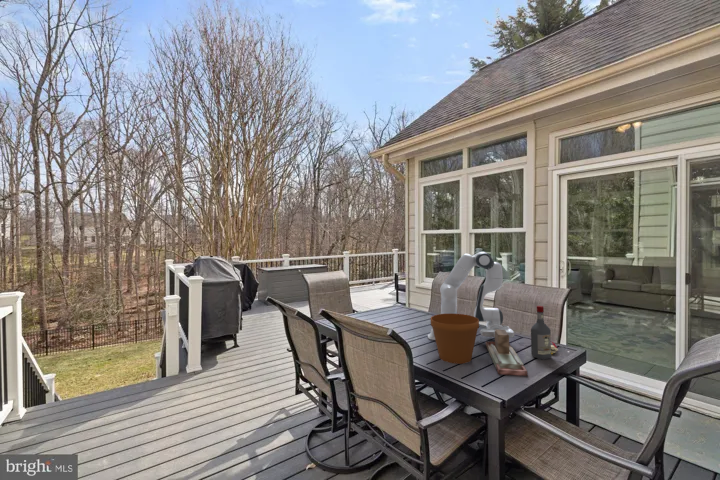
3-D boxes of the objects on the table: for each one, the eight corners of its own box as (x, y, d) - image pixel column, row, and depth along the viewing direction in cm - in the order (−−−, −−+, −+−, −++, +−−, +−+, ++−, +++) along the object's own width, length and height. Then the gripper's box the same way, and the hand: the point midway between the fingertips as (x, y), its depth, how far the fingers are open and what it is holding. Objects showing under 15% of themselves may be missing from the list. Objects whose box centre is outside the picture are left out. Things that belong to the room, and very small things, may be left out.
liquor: (529, 354, 202) (528, 305, 202) (541, 353, 204) (540, 304, 204) (540, 360, 193) (539, 308, 193) (553, 358, 195) (552, 307, 195)
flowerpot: (465, 348, 216) (464, 312, 216) (489, 364, 189) (488, 323, 189) (424, 351, 212) (423, 315, 211) (443, 368, 184) (442, 326, 184)
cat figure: (533, 344, 225) (542, 353, 202) (533, 331, 226) (541, 339, 202) (550, 345, 222) (561, 355, 199) (549, 332, 223) (560, 340, 199)
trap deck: (498, 374, 175) (498, 366, 175) (485, 344, 222) (485, 339, 222) (527, 376, 172) (527, 368, 172) (508, 346, 219) (508, 339, 219)
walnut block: (498, 353, 197) (498, 334, 197) (495, 346, 209) (494, 329, 209) (509, 353, 196) (508, 335, 196) (505, 347, 208) (504, 329, 208)
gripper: (479, 325, 227) (481, 331, 214) (511, 326, 223) (516, 332, 209) (479, 334, 227) (482, 340, 214) (511, 335, 223) (516, 342, 209)
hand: (499, 336), depth 211 cm, fingers closed
